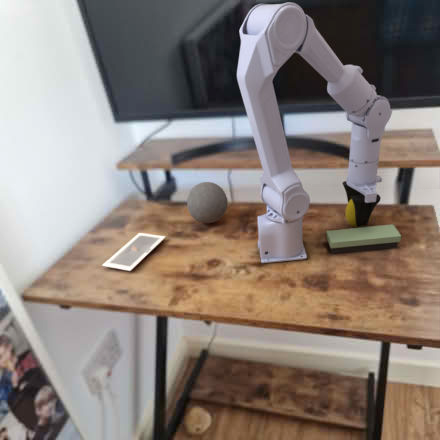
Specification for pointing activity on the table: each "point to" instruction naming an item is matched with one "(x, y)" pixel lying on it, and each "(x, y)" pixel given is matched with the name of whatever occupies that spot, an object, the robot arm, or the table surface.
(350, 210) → the lemon
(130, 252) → the touchpad
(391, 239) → the green block
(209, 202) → the decorative ball
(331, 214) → the table surface
